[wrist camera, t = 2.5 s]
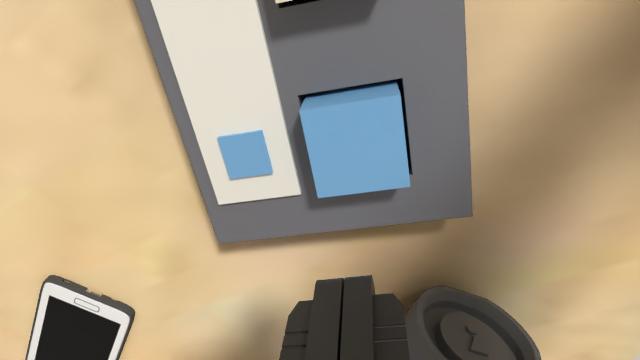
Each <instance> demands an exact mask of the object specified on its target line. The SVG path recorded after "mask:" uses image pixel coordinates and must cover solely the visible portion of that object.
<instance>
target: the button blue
mask: <svg viewBox="0 0 640 360" xmlns="http://www.w3.org/2000/svg"><path fill="white" fill-rule="evenodd" d="M299 113H300V117H301V122H302V127H303V131H304V136H305V141H306V145H307V150H308V154H309V159H310V164H311V168H312V173H313V178H314V182H315V187H316V191H317V196H318V198H324V197H332V196H340V195H348V194H356V193H365V192H373V191H381V190H389V189H397V188H405V187H410V178H409V168H408V159H407V150H406V140H405V131H404V122H403V113H402V103H401V94H400V91H399V88H398V85H397V82H396V79H394V80H388V81H382V82H376V83H370V84H364V85H358V86H351V87H345V88H339V89H333V90H327V91H321V92H315V93H309V94H307V95H306V97H305V99H304V101H303V103H302V106H301V108H300V110H299Z"/></svg>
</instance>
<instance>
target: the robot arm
mask: <svg viewBox="0 0 640 360" xmlns="http://www.w3.org/2000/svg"><path fill="white" fill-rule="evenodd" d="M279 360H410V353H409V346H408V338H407V331H406V323H405V316H404V308H403V306H402V304H401V303H400V302H399V300H398V299H397V298H396V296H395V295H394V293H392V294H380V295H375V289H374V283H373V278H372V275H370V276H359V277H348V278H345V280H344V278H338V279H327V280H317V281H316V284H315V291H314V298H313V300H310V301H299V302H298V304H297V305H296V306H295V308H294V309H293V311H292V312H291V313H290V315H289V316H288V321H287V326H286V330H285V336H284V340H283V344H282V350H281V354H280V358H279Z"/></svg>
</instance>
